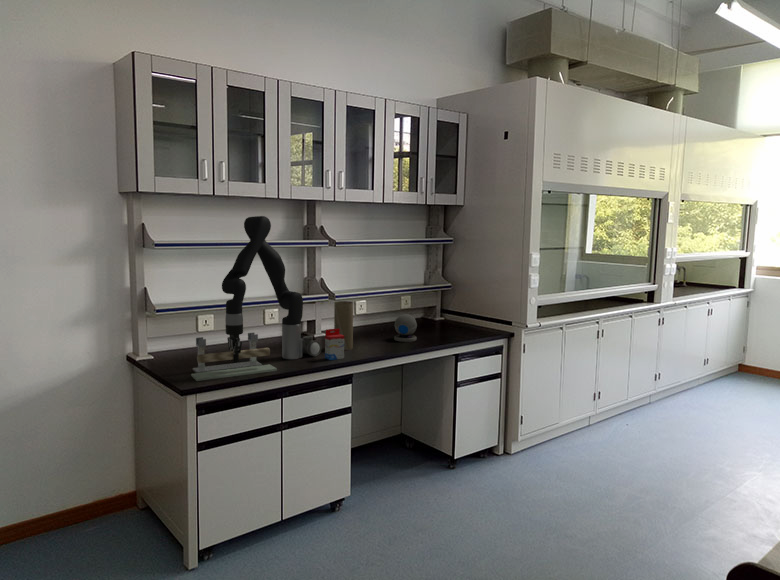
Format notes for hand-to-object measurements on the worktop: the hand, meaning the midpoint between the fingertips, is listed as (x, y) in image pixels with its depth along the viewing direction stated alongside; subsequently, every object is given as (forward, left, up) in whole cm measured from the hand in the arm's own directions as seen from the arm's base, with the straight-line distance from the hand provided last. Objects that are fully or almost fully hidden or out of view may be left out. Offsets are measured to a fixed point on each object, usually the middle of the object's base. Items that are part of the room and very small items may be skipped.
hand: (234, 361), depth 261 cm
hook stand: (0, -11, -6) cm, 12 cm away
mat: (0, 0, -6) cm, 6 cm away
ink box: (-52, -5, -6) cm, 53 cm away
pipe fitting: (-44, -19, -6) cm, 48 cm away
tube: (-67, -24, -6) cm, 71 cm away
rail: (0, 0, +1) cm, 1 cm away
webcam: (-110, -28, -6) cm, 114 cm away
